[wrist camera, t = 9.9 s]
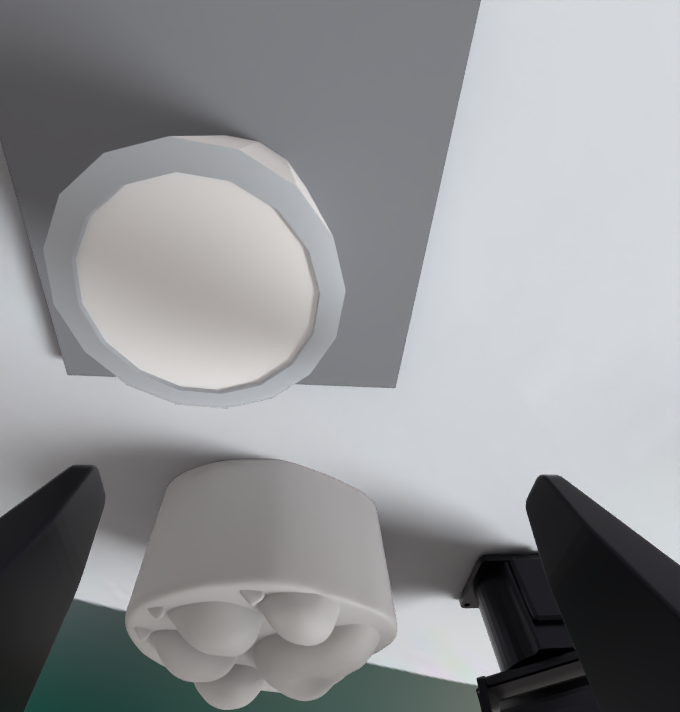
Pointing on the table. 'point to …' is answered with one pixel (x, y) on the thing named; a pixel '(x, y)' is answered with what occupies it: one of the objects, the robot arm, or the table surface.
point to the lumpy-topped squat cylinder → (262, 582)
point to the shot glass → (196, 270)
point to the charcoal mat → (253, 125)
